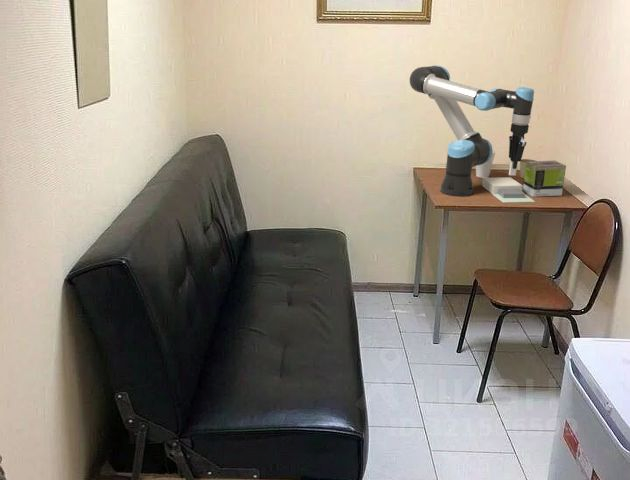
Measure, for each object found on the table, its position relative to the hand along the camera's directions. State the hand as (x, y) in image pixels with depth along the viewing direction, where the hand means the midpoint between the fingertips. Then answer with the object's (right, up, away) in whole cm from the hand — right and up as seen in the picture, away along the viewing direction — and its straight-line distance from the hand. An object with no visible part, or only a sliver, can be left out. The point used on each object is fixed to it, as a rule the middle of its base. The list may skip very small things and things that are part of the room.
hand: (512, 174), depth 290 cm
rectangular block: (0, -9, +2) cm, 10 cm away
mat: (+1, -11, 0) cm, 11 cm away
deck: (-1, -6, +12) cm, 14 cm away
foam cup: (-4, +3, +35) cm, 35 cm away
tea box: (+17, -8, +8) cm, 20 cm away
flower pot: (+18, +2, +34) cm, 38 cm away
